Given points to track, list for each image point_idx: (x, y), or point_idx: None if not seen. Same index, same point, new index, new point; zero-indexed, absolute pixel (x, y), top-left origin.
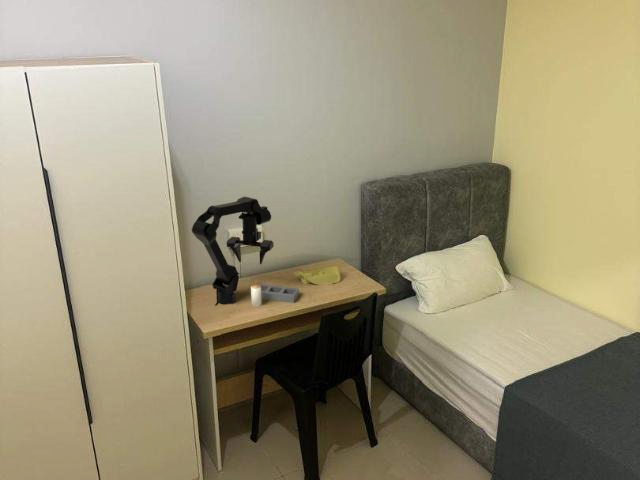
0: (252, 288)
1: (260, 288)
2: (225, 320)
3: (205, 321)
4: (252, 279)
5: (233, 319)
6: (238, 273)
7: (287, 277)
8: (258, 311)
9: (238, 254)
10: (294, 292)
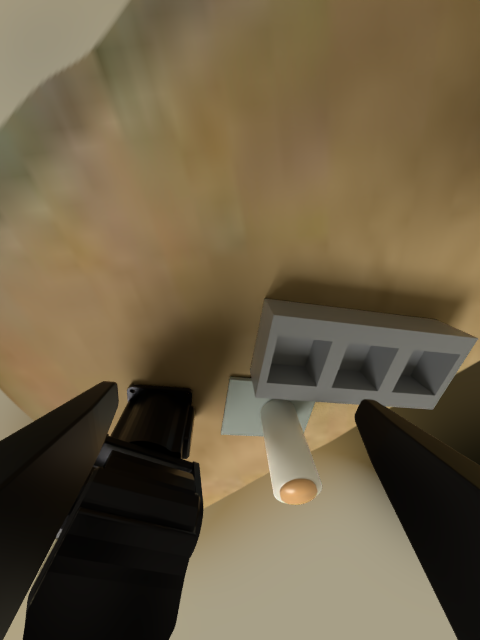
0: (283, 500)
1: (318, 488)
2: (201, 485)
3: None
4: (200, 113)
5: (221, 478)
6: (193, 541)
7: (435, 36)
8: None
9: (27, 569)
10: (444, 379)
